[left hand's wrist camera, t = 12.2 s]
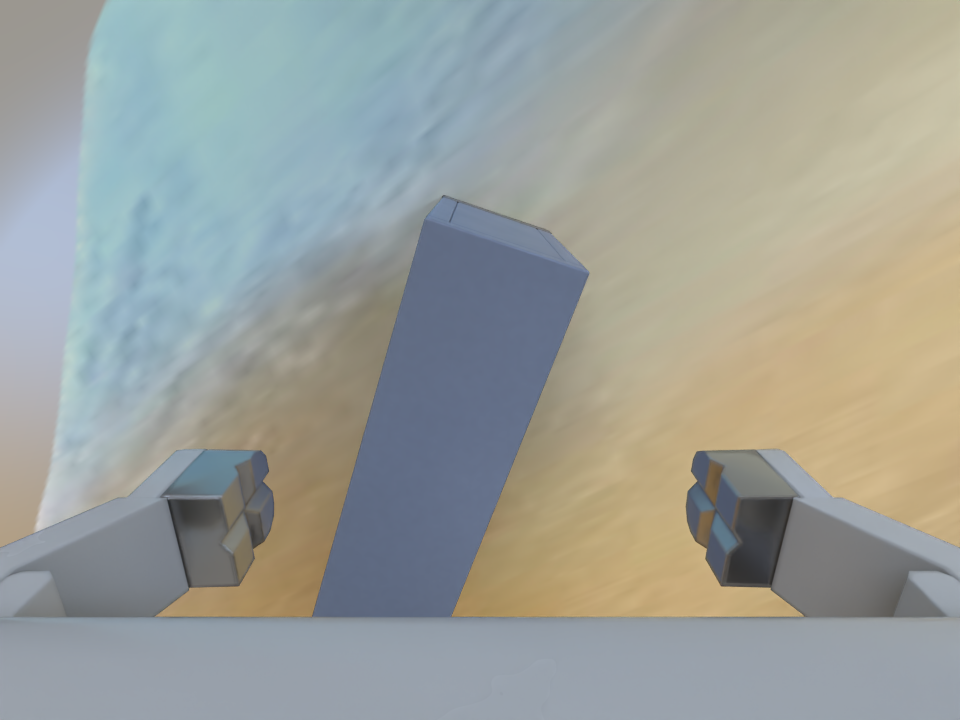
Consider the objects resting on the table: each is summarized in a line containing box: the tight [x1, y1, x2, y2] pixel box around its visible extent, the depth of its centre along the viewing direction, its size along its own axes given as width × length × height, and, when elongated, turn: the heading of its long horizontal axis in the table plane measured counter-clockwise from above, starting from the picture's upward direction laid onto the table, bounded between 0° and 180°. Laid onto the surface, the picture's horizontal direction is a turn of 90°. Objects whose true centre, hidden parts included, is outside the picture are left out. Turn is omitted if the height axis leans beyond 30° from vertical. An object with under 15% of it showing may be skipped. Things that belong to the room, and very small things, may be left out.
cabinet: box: [312, 195, 589, 617], centre depth 24 cm, size 17×5×10 cm, turn 162°
